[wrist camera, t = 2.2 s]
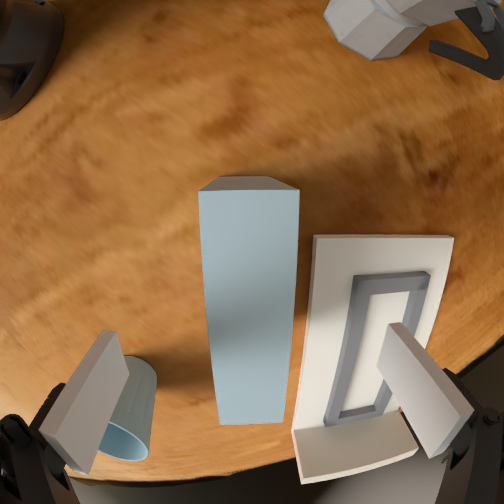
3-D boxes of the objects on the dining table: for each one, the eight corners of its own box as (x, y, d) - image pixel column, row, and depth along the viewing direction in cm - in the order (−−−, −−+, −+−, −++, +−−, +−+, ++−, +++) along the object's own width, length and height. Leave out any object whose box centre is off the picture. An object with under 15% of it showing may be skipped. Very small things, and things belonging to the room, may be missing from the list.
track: (313, 234, 24) (353, 276, 15) (447, 235, 25) (506, 264, 16) (291, 431, 33) (301, 484, 24) (391, 412, 33) (413, 455, 25)
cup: (158, 348, 27) (132, 424, 17) (173, 396, 29) (158, 466, 20) (98, 345, 27) (60, 408, 17) (118, 391, 29) (93, 453, 19)
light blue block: (218, 176, 22) (198, 191, 11) (268, 175, 22) (299, 189, 11) (225, 325, 26) (220, 424, 15) (266, 324, 27) (282, 422, 15)
